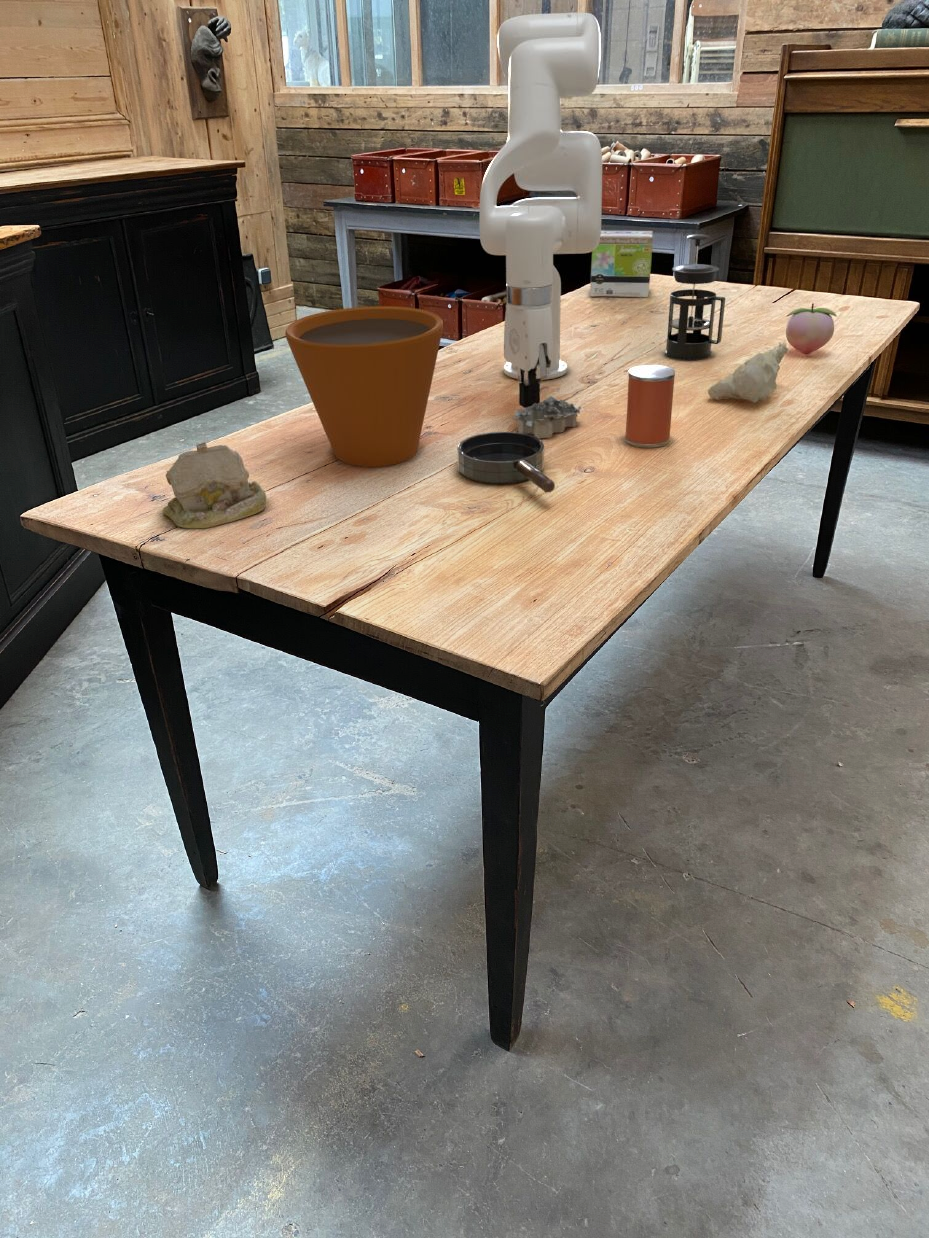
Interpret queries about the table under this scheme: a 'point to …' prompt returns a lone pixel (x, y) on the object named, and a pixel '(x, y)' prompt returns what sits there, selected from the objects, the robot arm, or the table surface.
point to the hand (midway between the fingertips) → (529, 405)
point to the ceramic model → (211, 488)
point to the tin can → (649, 406)
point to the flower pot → (368, 377)
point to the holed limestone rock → (751, 377)
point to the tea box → (622, 264)
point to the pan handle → (535, 476)
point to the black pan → (499, 456)
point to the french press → (692, 343)
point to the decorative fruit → (809, 328)
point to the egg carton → (546, 417)
